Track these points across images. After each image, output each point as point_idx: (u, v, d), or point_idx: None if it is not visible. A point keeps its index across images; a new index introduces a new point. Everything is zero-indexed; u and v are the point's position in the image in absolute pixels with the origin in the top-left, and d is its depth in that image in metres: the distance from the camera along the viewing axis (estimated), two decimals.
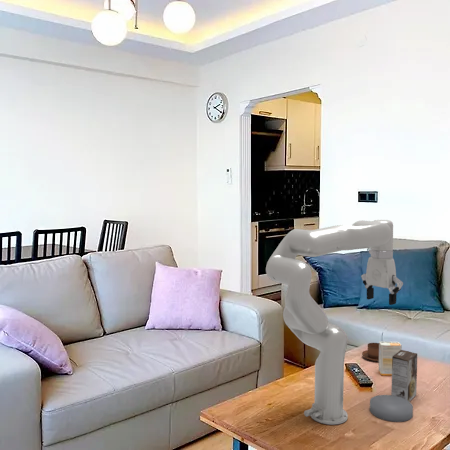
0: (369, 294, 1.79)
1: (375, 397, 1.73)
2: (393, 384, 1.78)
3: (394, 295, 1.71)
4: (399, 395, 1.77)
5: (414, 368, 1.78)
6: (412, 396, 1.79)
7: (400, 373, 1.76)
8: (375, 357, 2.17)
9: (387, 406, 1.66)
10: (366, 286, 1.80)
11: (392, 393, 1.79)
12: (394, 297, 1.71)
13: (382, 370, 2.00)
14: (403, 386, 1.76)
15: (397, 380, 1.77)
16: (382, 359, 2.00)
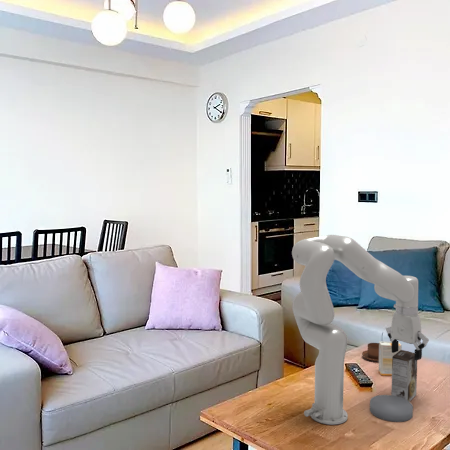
0: (394, 347, 1.83)
1: (375, 397, 1.73)
2: (393, 384, 1.78)
3: (420, 351, 1.74)
4: (399, 395, 1.77)
5: (414, 368, 1.78)
6: (412, 396, 1.79)
7: (400, 373, 1.76)
8: (375, 357, 2.17)
9: (387, 406, 1.66)
10: (391, 339, 1.83)
11: (392, 393, 1.79)
12: (420, 353, 1.74)
13: (382, 370, 2.00)
14: (403, 386, 1.76)
15: (397, 380, 1.77)
16: (382, 359, 2.00)
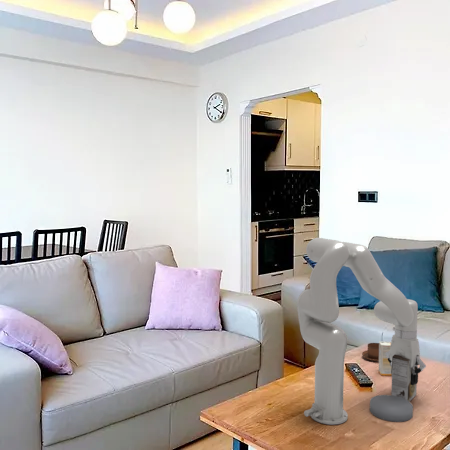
0: None
1: (375, 397, 1.73)
2: (393, 384, 1.78)
3: (416, 376, 1.76)
4: (399, 395, 1.77)
5: (414, 368, 1.78)
6: (412, 396, 1.79)
7: (400, 373, 1.76)
8: (375, 357, 2.17)
9: (387, 406, 1.66)
10: (391, 364, 1.83)
11: (392, 393, 1.79)
12: (416, 378, 1.76)
13: (382, 370, 2.00)
14: (403, 386, 1.76)
15: (397, 380, 1.77)
16: (382, 359, 2.00)
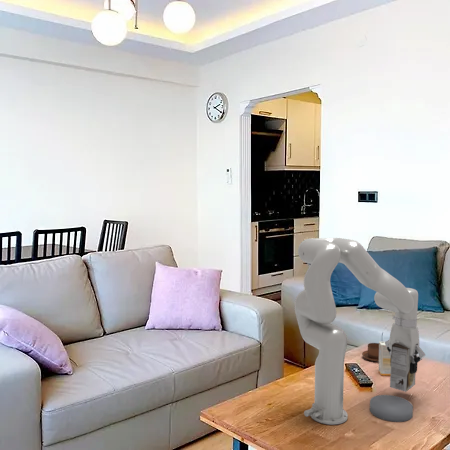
0: None
1: (375, 397, 1.73)
2: (392, 373, 1.78)
3: (415, 364, 1.75)
4: (398, 384, 1.77)
5: None
6: (411, 385, 1.78)
7: (400, 361, 1.76)
8: (375, 357, 2.17)
9: (387, 406, 1.66)
10: (390, 353, 1.82)
11: (391, 382, 1.78)
12: (415, 366, 1.75)
13: (382, 370, 2.00)
14: (402, 375, 1.75)
15: (396, 369, 1.77)
16: (382, 359, 2.00)
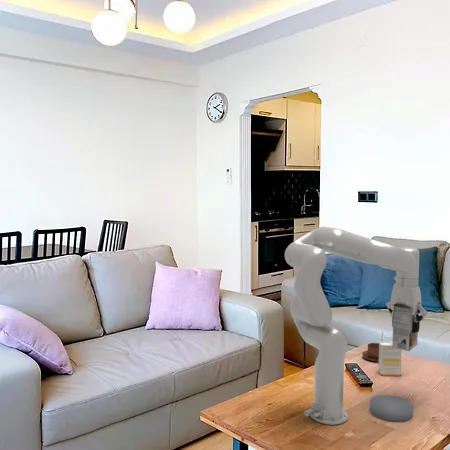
0: None
1: (375, 397, 1.73)
2: (394, 333, 1.76)
3: (417, 323, 1.74)
4: (400, 343, 1.75)
5: None
6: (413, 345, 1.77)
7: (402, 321, 1.74)
8: (375, 357, 2.17)
9: (387, 406, 1.66)
10: (392, 314, 1.81)
11: (393, 342, 1.77)
12: (417, 325, 1.74)
13: (382, 370, 2.00)
14: (404, 334, 1.74)
15: (398, 329, 1.75)
16: (382, 359, 2.00)
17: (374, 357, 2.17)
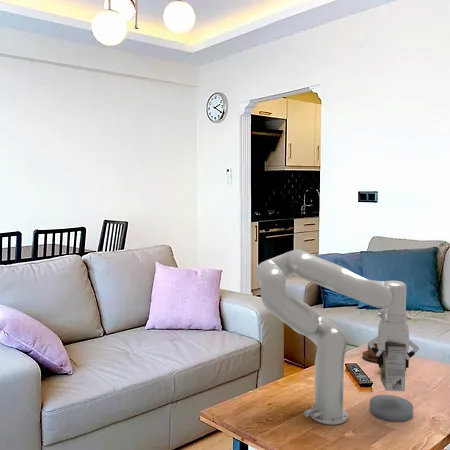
0: (381, 362, 1.68)
1: (375, 397, 1.73)
2: (388, 374, 1.63)
3: (408, 360, 1.65)
4: (395, 385, 1.63)
5: None
6: None
7: (397, 361, 1.63)
8: (375, 357, 2.17)
9: (387, 406, 1.66)
10: (378, 354, 1.68)
11: (387, 384, 1.64)
12: (408, 362, 1.65)
13: None
14: (399, 374, 1.63)
15: (393, 369, 1.63)
16: None
17: (374, 357, 2.17)
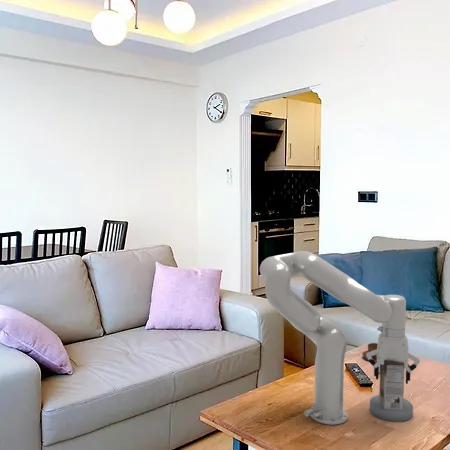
0: (378, 374, 1.68)
1: (375, 397, 1.73)
2: (387, 393, 1.64)
3: None
4: (393, 403, 1.64)
5: None
6: None
7: (395, 379, 1.63)
8: (375, 357, 2.17)
9: None
10: (375, 366, 1.68)
11: (385, 403, 1.64)
12: None
13: None
14: (398, 393, 1.63)
15: (391, 388, 1.64)
16: None
17: (374, 357, 2.17)
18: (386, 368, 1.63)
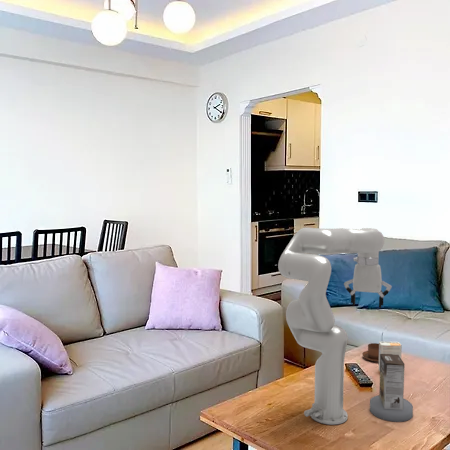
0: (354, 300, 1.86)
1: (375, 397, 1.73)
2: (387, 393, 1.64)
3: None
4: (393, 403, 1.64)
5: None
6: None
7: (395, 379, 1.63)
8: (375, 358, 2.17)
9: None
10: (351, 293, 1.86)
11: (385, 403, 1.64)
12: None
13: None
14: (398, 393, 1.63)
15: (391, 388, 1.64)
16: None
17: (374, 357, 2.17)
18: (386, 368, 1.63)
